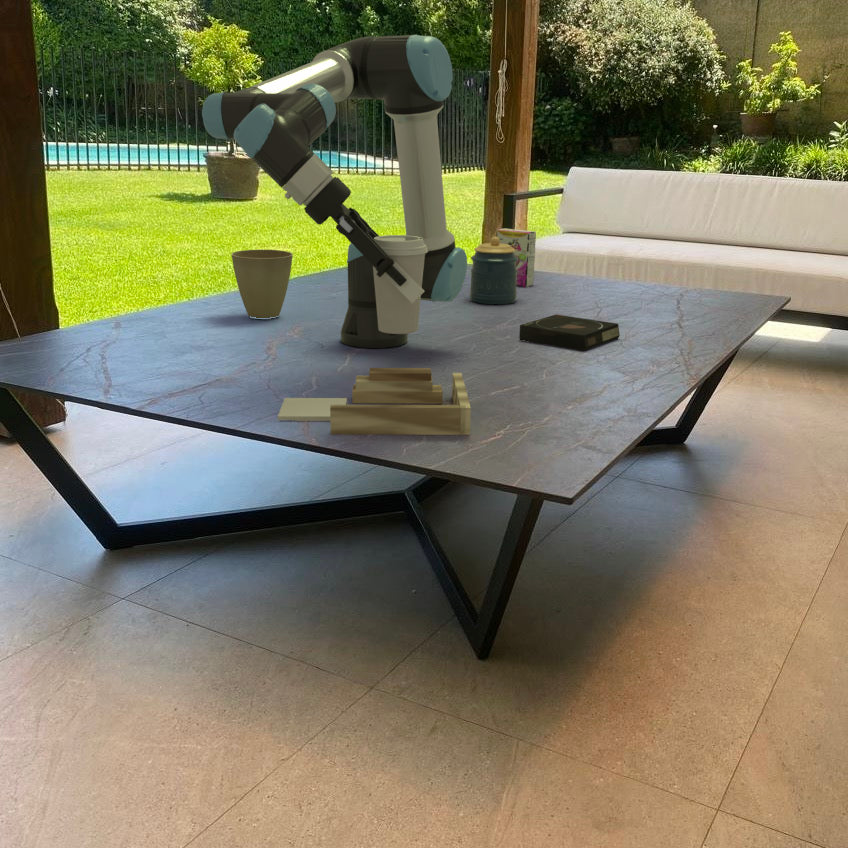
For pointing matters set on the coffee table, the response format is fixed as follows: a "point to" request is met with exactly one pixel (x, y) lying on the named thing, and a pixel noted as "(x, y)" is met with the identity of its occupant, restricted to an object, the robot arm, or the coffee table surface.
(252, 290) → the plant pot
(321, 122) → the robot arm
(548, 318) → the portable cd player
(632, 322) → the coffee table surface
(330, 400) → the ceramic tile
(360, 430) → the frame
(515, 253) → the candy bar box
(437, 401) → the offcut stack
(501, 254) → the canister
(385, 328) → the coffee cup
